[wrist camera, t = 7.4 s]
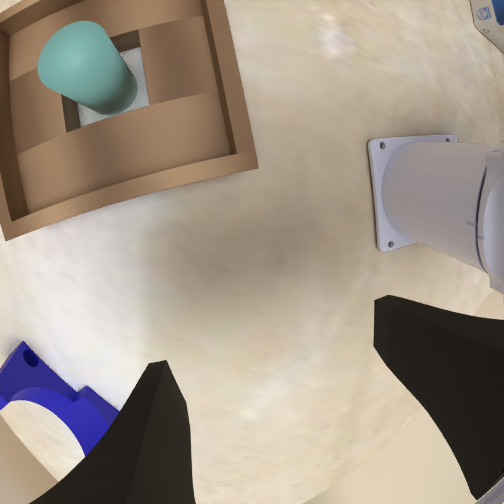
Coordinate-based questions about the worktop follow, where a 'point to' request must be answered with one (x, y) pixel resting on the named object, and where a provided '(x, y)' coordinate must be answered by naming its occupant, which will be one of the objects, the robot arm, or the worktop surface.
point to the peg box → (123, 125)
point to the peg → (87, 68)
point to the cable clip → (55, 396)
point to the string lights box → (490, 19)
